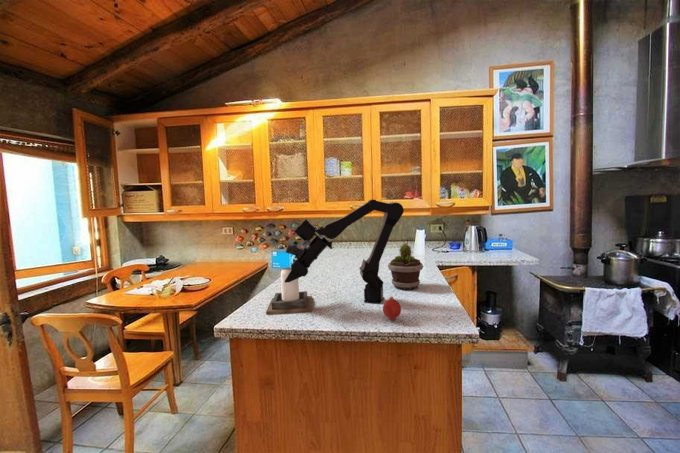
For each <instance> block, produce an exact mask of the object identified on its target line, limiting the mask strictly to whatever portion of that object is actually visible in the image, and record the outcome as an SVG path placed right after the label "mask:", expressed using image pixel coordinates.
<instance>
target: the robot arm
mask: <svg viewBox="0 0 680 453" xmlns="http://www.w3.org/2000/svg"><path fill="white" fill-rule="evenodd" d="M403 206H404V205H402V204H401V203H399V202H395V201H394V202H389V203H388V202H384V201H380V200H376V199H368V201H367V202H366V203H365V202H364V204H362V205H360V206H359V207H357V208H355V209H354V210H353V211H350V212H349V213H348V214H346V215H344V216H343V217H340V218H338V219H334V220H332V221H330V222H327V223H326V224H325V225H324V226H320V227H319V226H318V227H316V226H314V225H313V224H312V223H311V222H310V221H309V219H307V218H305V219H304V220H303V222H301V224H299V225H298V226H297V227H296V228H295V230H293V233H294V234H295V235H296V236H298V238H300V239H301V240H302V241H303V242H309V243H308V244H307V245H305V246H304V247H301V246H300V245H298V244H294V243H290V242H289V243H288V244H287V247H286V250H285V253H286V254H291V255H292V256H294V257H293V259H292V263H291V264H290V268H291V272H290V273H289V275H288V277H287V278H286V280H285V283H286V282H288V283H289V282H291V281H293V280H295V279H297V278H298V279H299V278H302V277H303V278H304V277H306V276H307V275H308V274H309V268H310V267H311V265H312V264H313V263H314V262H315V261H316V260H317V259H318V257H319V256H320V255H321V254H322V253H323V251H324V250H325V249H326V248H327V247H328V248H329V249H330V250H332V249H333V241H332V240H334V239H337V237H338V236H339V235H342V233H343V232H344V230H346V229H347V228H348V227H349V226H351V225H352V224H354V223H356V222H357V221H358V220H361V219H362V218H364V217H365V216H366V215H368V214H370V213H371V212H374V211H377V212H380V213H381V212H382V213H383V220H382V224H381V227H380V229H379V232H378V235H377V238H376V240H375V242H374V244H373V247H372V249H371V252H370V255H369V257H368V258H367V259H362V262H361V266H360V267H359V274H360V277H361V279H362V280H363V282H364V283H366V284H365V285H364V288H363V294H364V295H363V298H364V301H363V302H364V303H368V304H370V303H373V304H382V302H383V301H384V300H385V297H384V281H383V279H382V278H380V276H379V271H380V262H381V259H382V258H383V254H384V252H385V249H386V247H387V244H388V241H389V239H390V236H391V234H392V231H393V229H394V227H395V226H396V225H397V223H398V222H400V219H401V217H402V216H403V214H404V207H403ZM321 236H322V237H321Z"/></svg>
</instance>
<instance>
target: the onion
mask: <svg viewBox="0 0 680 453" xmlns="http://www.w3.org/2000/svg"><path fill="white" fill-rule="evenodd" d="M401 312H402V307H401V304H400V303H399V301H397V300H396V299H395V298H394V296H390V297H389V298H388V299H387V300H386V301H385V302H384V304H383V306H382V313H383V315H384V316H385V317H386V318H387V319H388V320H390V321H392V322H393V321H395V320H396V319H397V318H398V317H400V315H401Z"/></svg>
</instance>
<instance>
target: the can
mask: <svg viewBox="0 0 680 453" xmlns="http://www.w3.org/2000/svg"><path fill="white" fill-rule="evenodd" d="M290 272H291V267H284V268H281V271H280V284H281V285H280V286H281V287H280V288H281V293H282V300H283V301H295V300H299V292H300V285H299V278H297V279H295V280H293V281H291V282H289V283H288V282H286V283H285V280H286V278H287V277H288V275H289V273H290Z"/></svg>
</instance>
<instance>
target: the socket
mask: <svg viewBox="0 0 680 453" xmlns="http://www.w3.org/2000/svg"><path fill="white" fill-rule="evenodd" d="M274 294H275V295H274V296H273V297H272V298H271V300H270V301H269V303H268V306H267V309H266V312H265V315H275V314H278V315H279V314H293V313H309V312H310V313H311V312H312V307H313V296H312V295H308V291H307V290H306V291H305V290H304V291H299V300H295V301H283V300H282V292H275V293H274Z"/></svg>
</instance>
